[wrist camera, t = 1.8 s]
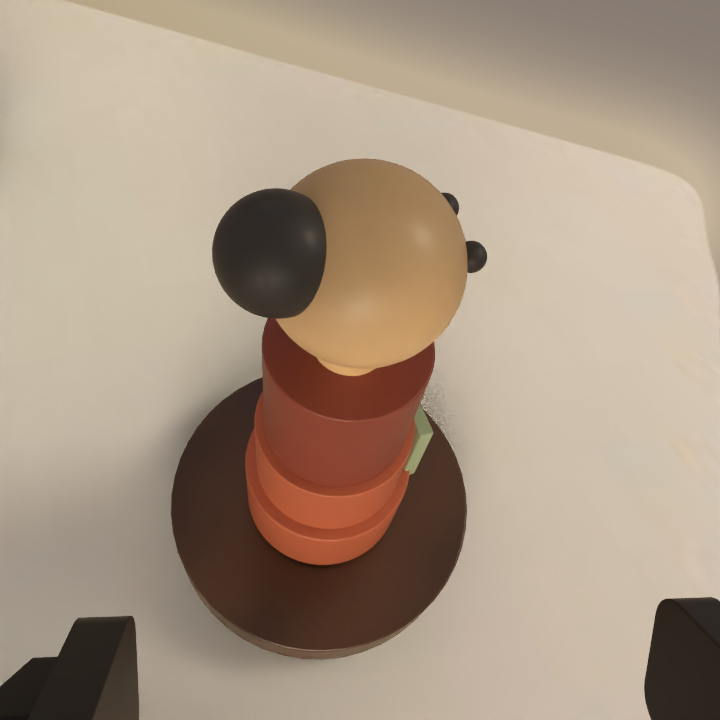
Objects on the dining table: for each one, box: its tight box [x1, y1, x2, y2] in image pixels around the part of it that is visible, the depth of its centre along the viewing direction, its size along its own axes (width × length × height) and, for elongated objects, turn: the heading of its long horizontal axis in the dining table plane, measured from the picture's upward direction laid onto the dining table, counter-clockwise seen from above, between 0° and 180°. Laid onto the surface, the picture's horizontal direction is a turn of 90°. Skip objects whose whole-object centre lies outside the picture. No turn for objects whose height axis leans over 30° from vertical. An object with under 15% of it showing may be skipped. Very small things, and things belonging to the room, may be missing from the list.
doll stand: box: [171, 378, 467, 659], centre depth 28 cm, size 12×12×2 cm
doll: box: [212, 159, 487, 565], centre depth 20 cm, size 6×6×16 cm
